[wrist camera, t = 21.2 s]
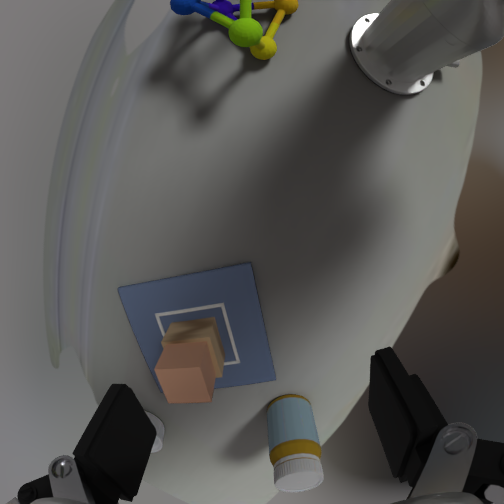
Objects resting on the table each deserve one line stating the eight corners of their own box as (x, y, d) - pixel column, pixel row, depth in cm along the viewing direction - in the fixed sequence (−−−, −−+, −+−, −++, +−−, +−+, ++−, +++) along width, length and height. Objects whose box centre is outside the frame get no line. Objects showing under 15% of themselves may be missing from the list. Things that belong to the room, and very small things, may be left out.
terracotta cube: (206, 341, 32) (199, 367, 27) (216, 374, 33) (211, 402, 28) (165, 344, 32) (154, 369, 27) (177, 376, 33) (168, 403, 28)
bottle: (278, 425, 42) (285, 497, 28) (258, 402, 41) (261, 480, 26) (316, 410, 41) (334, 482, 27) (299, 385, 40) (315, 463, 25)
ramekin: (170, 440, 44) (165, 456, 40) (127, 431, 44) (120, 446, 40) (164, 410, 42) (158, 428, 38) (117, 401, 42) (108, 417, 37)
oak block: (214, 316, 36) (209, 336, 31) (225, 354, 38) (222, 377, 33) (171, 322, 36) (161, 342, 32) (183, 359, 38) (176, 380, 33)
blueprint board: (250, 261, 35) (250, 263, 34) (275, 377, 39) (276, 380, 39) (119, 287, 36) (116, 289, 35) (161, 390, 40) (160, 393, 40)
